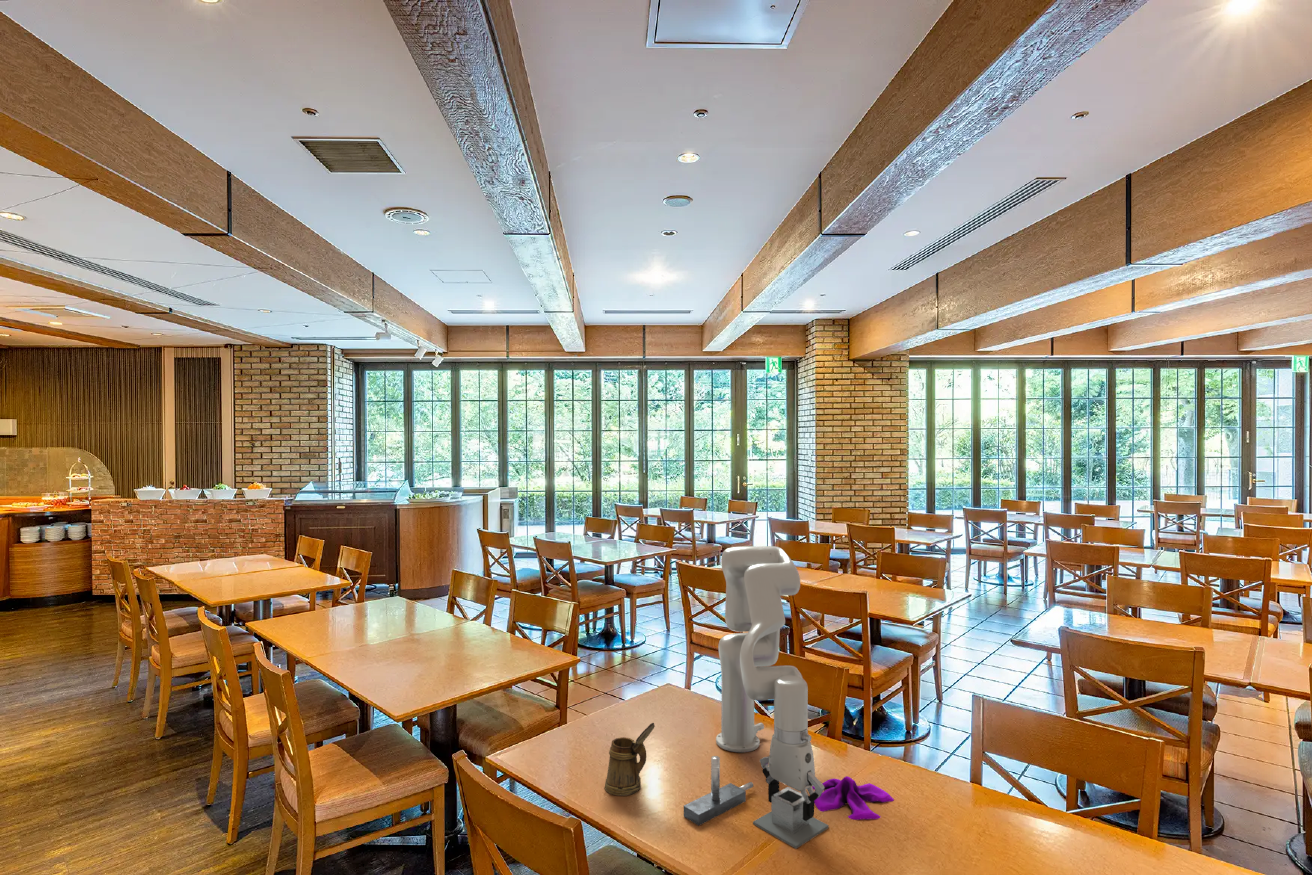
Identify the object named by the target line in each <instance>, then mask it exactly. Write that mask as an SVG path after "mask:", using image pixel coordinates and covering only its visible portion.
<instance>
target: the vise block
mask: <svg viewBox="0 0 1312 875" xmlns="http://www.w3.org/2000/svg"><path fill="white" fill-rule="evenodd" d="M720 761H721V758H720V756H718V755H712V756H711V761H710V762H711V763H710V764H711V766H710V767H711V768H710V772H711V774H710V776H711V778H710V779H711V781H710V782H711V783H710V792H709V793H707V794H705V795H702V796H700V797H699V798H696V799H695V800H692V801H690V802H688V803H686V804H684V805H683V818H686V819H687V820H688V821H690V822H691V823H693V824H695V825H696V826H698V827H699V826H701V825H704V824H705V823H708V822H709V821H711V820H713V819H714V818H717V817H719V816H720V815H723V814H725V813H726V812H729V811H730V810H732V809H734V808H736V807H737V806H740V805H741V804H742V805H743V803H745V802H747V801H746V800H747V799H746V796H747V795H746V794H747V793H746V792H747V791H748V790H749V789H751V788H753V787H754V783H753V782H752V781H749V782H748V783H745V784H743V785H742V786H738V785H735V784H733V783H732V782H730V783H728V784H725V785H723V786H722V787H720V784H721V783H720V781H721V779H720V777H721V776H720V775H721V774H720V770H721V769H720V768H721V762H720Z"/></svg>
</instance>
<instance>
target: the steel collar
mask: <svg viewBox="0 0 1312 875" xmlns="http://www.w3.org/2000/svg"><path fill="white" fill-rule="evenodd" d="M804 801H805V800H804V798H803V796H802V794H801V792H800V791H798V790H795V789H793V788H791V787H789V786H787V787H785V788H783V789H781V790H779V792H777V793H776V794H774V795H772V802H771V805H770V806H771V811H770V812H771V822H772V823H773V824H775V825H777V826H779V827H781V828H783V829H784V830H786V831H788V832H790V833H792V834H794V833H796V832H797V831H799V830H801V829H802V828H804V827H805V826H807V825H809V820H807V821H805V820H803V802H804Z"/></svg>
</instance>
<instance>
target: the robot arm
mask: <svg viewBox="0 0 1312 875" xmlns="http://www.w3.org/2000/svg"><path fill="white" fill-rule="evenodd" d="M720 558H721V559H720V562H721V563H720V564H721V568H722V572H723V576H724V579H725V586H726V587H725V609H724V610H725V611H724V616H725V617H724V619H725V625H726V627H727V628H728V629H729V630H731V631H733V632H734V633H729V634H726V635H723V636H722V637H721V638H720V640H719V642H718V657H719V662H720V671H721V675H720V676H721V730H720V731H721V732H720V733H718V734H717V735H716V737H715V743H716V745H717V746H718V747H719V748H721V749H723V750H725V751H727V752H731V753H732V752H734V753H748V752H753V751H754V750H755V751H756V749H758V748H759V746H760V742H761V741H760V739H759V738H760V737H758V736H757V733H758V732H759V731H761V730H764V728H765V725H764V723H763V722H759V723H756V724H755V701H770V700H771V701H773V720H774V721H773V734H772V736H771V740H770V748H769V755H768V756H764V757H762V758H759V763H760V767H761V768H762V770H761V771H762V773H763V775H764V778H765V782H766V784H767V785H768V790H767V794H768V799H767V800H768V802H769V803H771V804H772V795H774V794H776V793H777V792H779V791H780V783H781V784H784V785H785V786H787V787H789V788H791V789H793V790H795V791H797V792H799V793H801V794H802V796H803V798H804V800H805V801H804V802H803V820H805V821H807V820H809V819H810V818H812V817H814V815H815V803H814V800H816V799H817V798H819V797H820V796H821V794H822V792H824V791H825V790H824V785H823V784H822V783H823V782H822V781H821V780H820V779H818V777H816V770H815V769H816V766H815V758H814V752H813V745H812V742H811V741H812V736H811V735H810V734H809V732H808V731H809V728H808V726H809V725H808V724H809V723H808V713H809V712H808V711H809V710H808V709H809V708H808V705H809V704H808V702H809V700H808V697H809V696H808V694H809V693H808V692H809V691H808V690H809V688H808V683H807V681H806V680H805V679H804V678H803V675H802V673H801V672H800V670H798V668H797V667H796V666H794V665H775V664H776V663H777V661H778V659H779V653H780V652H779V650H780V633H781V632H780V631H781V629H782V628H783V626H785V625H786V618H785V617H786V616H785V612H784V607H783V603H782V596H796V594H798V593H799V590H800V589H801V577H800V573H799V571H798V568H797V566H796V564H794V561H793V560H792V559H791V557H790V556H789V555H788V554H787V553H786V552H785V550H784V549H782V548H781V547H779V546H774V545H772V546H771V545H768V546H767V545H763V546H761V545H760V546H757V545H756V546H750V545H748V546H732V547H727V548H726V549H724V550H723V552H722V555H721V557H720ZM735 632H736V633H735ZM812 786H814V787H815V790H814V789H813V788H812Z"/></svg>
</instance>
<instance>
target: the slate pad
mask: <svg viewBox="0 0 1312 875" xmlns="http://www.w3.org/2000/svg"><path fill="white" fill-rule="evenodd" d="M752 825H754V826H755V827H757V828H759V829H760V830H763V831H764V832H765V833H767V834H769V835H771V836H772V837H775V838H776V839H778V840H779V841H781V842H783V843H785V844H787V845H788V846H790V847H792V848H793V849H796V850H797V849H799V847H802V846H803V845H805V844H806V843H807V842H810V840H812V839H814V838H815V837H818V835H820V834H822V833H823V832H824V831H826V830H828V829H829V828H830V827H829V826H830V825H829V824H827V823H825V822H823V821H822V820H819V819H818V818H816V817H814V816H813V817H812V818H810V819H809V825H807V826H805V827H804V828H802V829H801V830H799V831H797V832H796V833H794V834H792V833H790V832H788V831H786V830H784V829H783V828H781V827H779V826H777V825H775V824H773V823H772V822H771V811H770V812H768V813H765V814H764V815H762V816H761V817H759V818H757V819H755V820H754V821H752Z"/></svg>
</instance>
